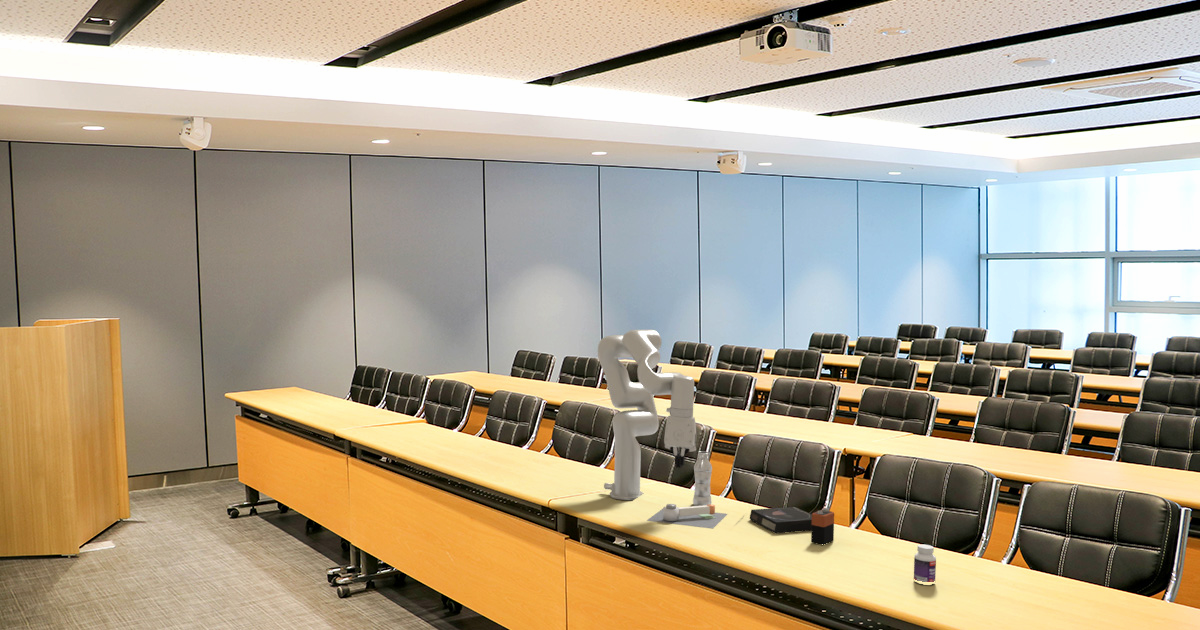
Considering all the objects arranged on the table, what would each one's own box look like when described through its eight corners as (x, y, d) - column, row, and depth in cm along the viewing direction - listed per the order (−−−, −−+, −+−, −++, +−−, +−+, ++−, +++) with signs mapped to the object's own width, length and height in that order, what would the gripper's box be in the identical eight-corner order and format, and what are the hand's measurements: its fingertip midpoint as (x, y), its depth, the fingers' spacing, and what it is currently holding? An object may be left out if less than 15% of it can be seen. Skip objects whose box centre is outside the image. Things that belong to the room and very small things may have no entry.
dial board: (646, 525, 286) (646, 519, 286) (664, 511, 304) (665, 506, 304) (712, 533, 277) (713, 527, 277) (727, 518, 296) (727, 513, 296)
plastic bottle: (711, 507, 311) (712, 450, 310) (711, 512, 304) (712, 454, 303) (692, 506, 311) (693, 450, 311) (692, 511, 304) (694, 453, 304)
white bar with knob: (660, 517, 288) (661, 503, 288) (710, 513, 295) (711, 500, 294) (667, 521, 283) (667, 507, 283) (717, 517, 290) (718, 503, 290)
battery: (834, 541, 271) (835, 509, 271) (823, 546, 266) (824, 513, 266) (821, 538, 274) (822, 506, 274) (810, 543, 269) (811, 510, 269)
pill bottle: (932, 587, 230) (934, 550, 230) (911, 583, 233) (912, 547, 233) (937, 582, 235) (938, 545, 234) (916, 578, 238) (917, 542, 237)
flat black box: (749, 521, 294) (749, 509, 294) (794, 518, 300) (794, 506, 299) (774, 535, 279) (774, 522, 278) (821, 531, 284) (821, 519, 284)
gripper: (656, 412, 294) (654, 466, 295) (700, 416, 289) (698, 472, 290) (663, 409, 301) (661, 462, 302) (706, 413, 296) (703, 467, 297)
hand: (679, 466), depth 296 cm, fingers closed
